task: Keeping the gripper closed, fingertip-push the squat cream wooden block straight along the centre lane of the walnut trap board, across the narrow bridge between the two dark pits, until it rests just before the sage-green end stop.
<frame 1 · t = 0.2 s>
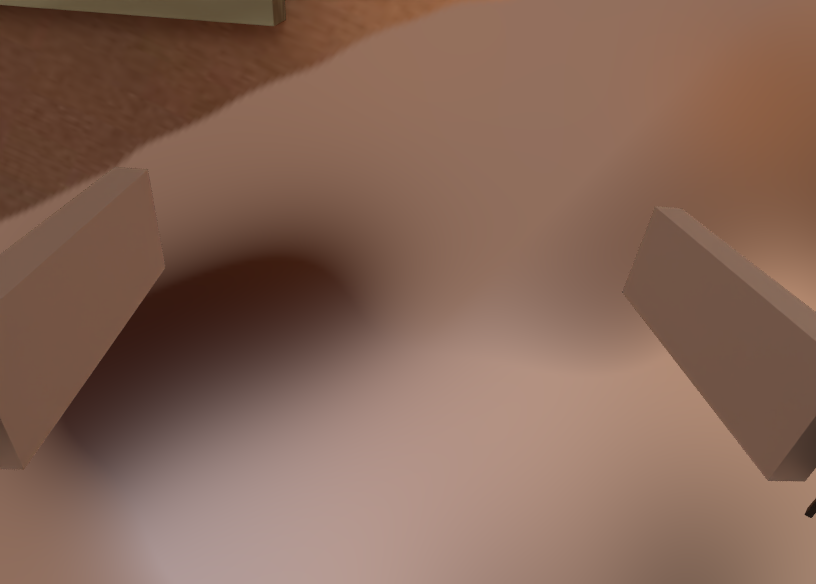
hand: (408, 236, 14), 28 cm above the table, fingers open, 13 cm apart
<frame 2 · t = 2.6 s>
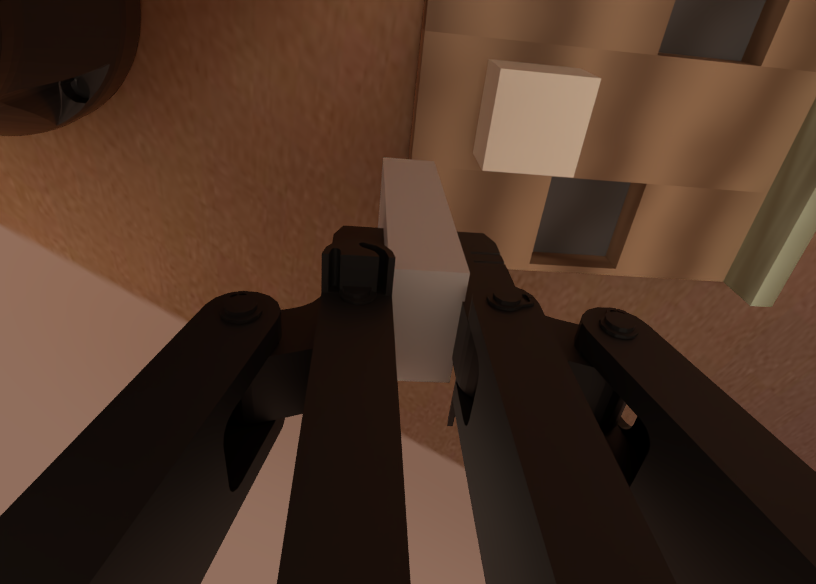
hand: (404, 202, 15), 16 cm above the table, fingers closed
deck: (612, 113, 30), on the table
block: (524, 112, 28), point 2 cm above the table, touching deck
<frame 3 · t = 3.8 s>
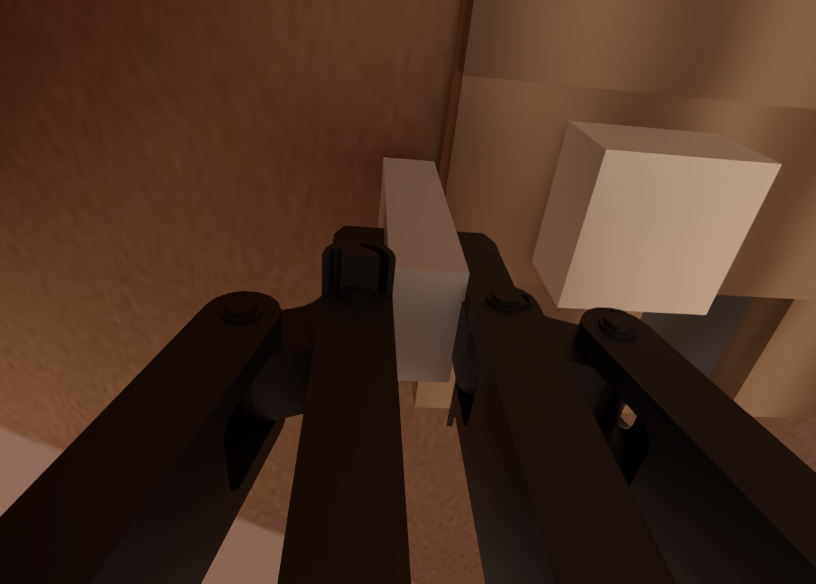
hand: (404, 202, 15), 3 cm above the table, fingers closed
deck: (745, 192, 20), on the table
block: (619, 201, 17), point 2 cm above the table, touching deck
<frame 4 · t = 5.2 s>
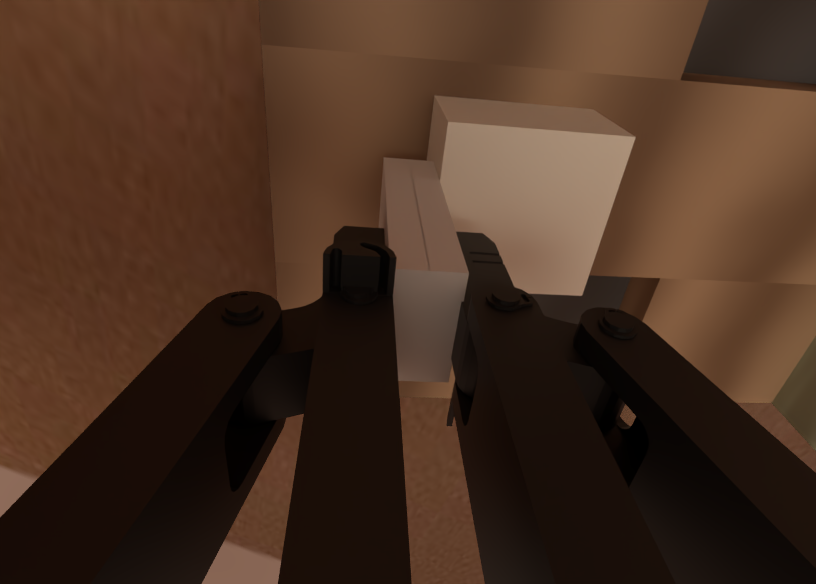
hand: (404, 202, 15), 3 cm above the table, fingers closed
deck: (604, 168, 19), on the table
block: (499, 180, 17), point 2 cm above the table, touching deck
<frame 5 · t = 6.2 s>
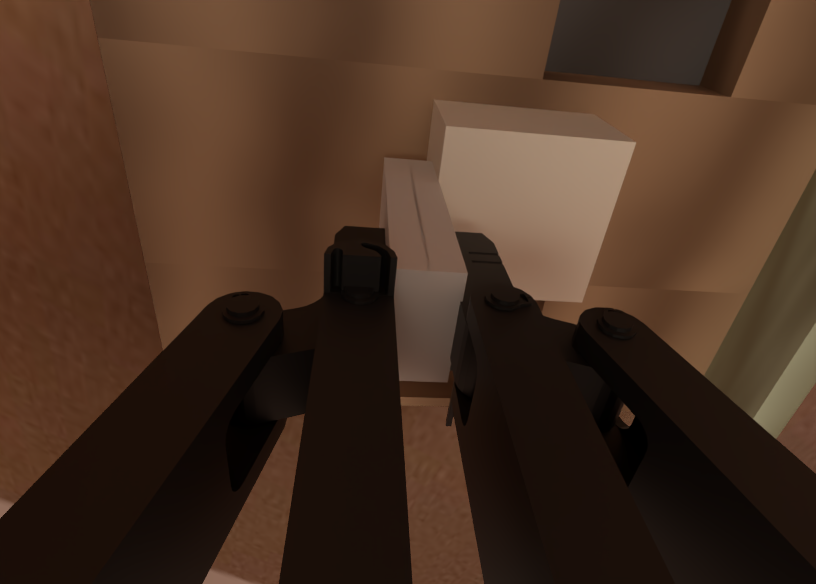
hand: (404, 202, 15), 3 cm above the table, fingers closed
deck: (491, 170, 18), on the table
block: (499, 185, 17), point 2 cm above the table, touching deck, gripper
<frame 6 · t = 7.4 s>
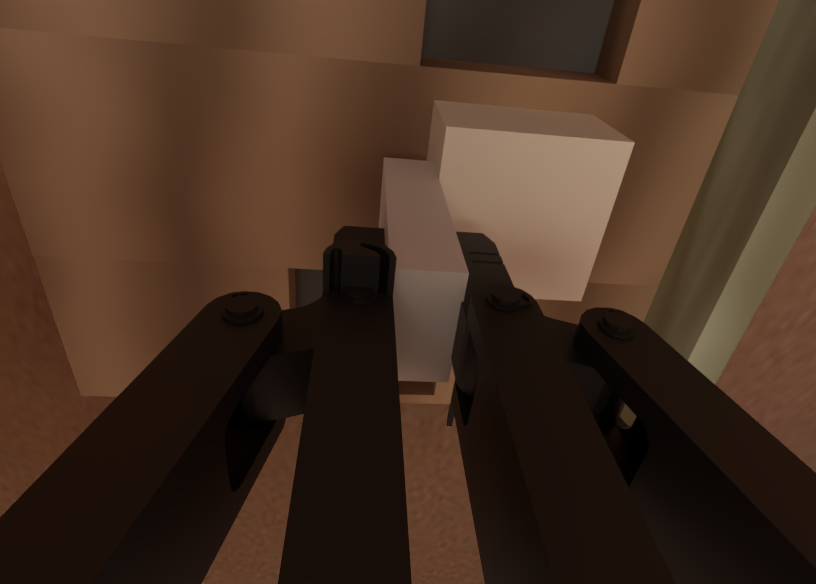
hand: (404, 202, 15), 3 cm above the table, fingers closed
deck: (391, 160, 18), on the table
block: (498, 185, 17), point 2 cm above the table, touching gripper
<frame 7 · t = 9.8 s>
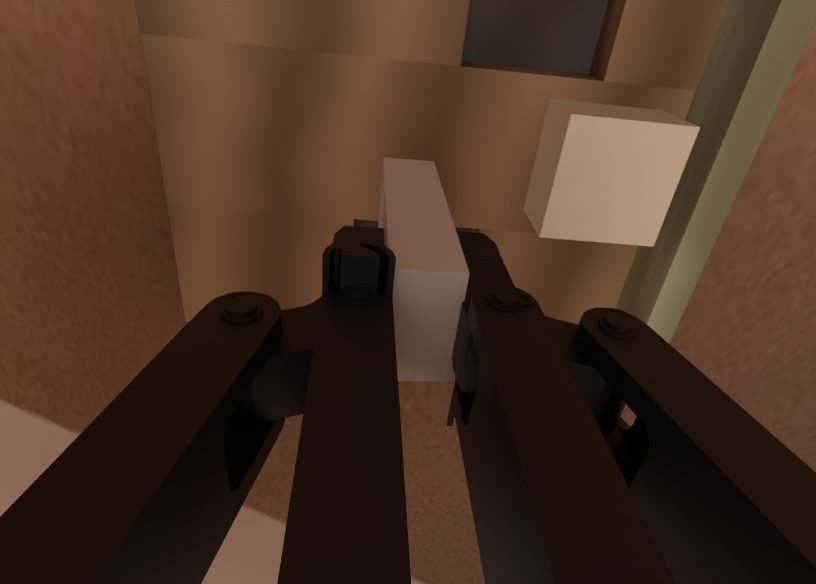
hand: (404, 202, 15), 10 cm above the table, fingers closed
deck: (433, 139, 24), on the table
block: (589, 162, 23), point 2 cm above the table, touching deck
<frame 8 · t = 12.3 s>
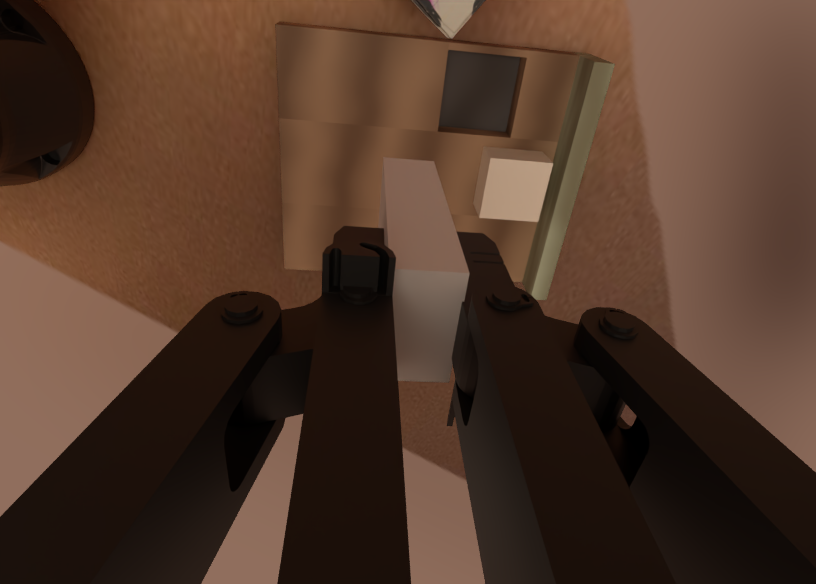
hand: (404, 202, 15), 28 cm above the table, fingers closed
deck: (424, 165, 44), on the table
block: (506, 178, 43), point 2 cm above the table, touching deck
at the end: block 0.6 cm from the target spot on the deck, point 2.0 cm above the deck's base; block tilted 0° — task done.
